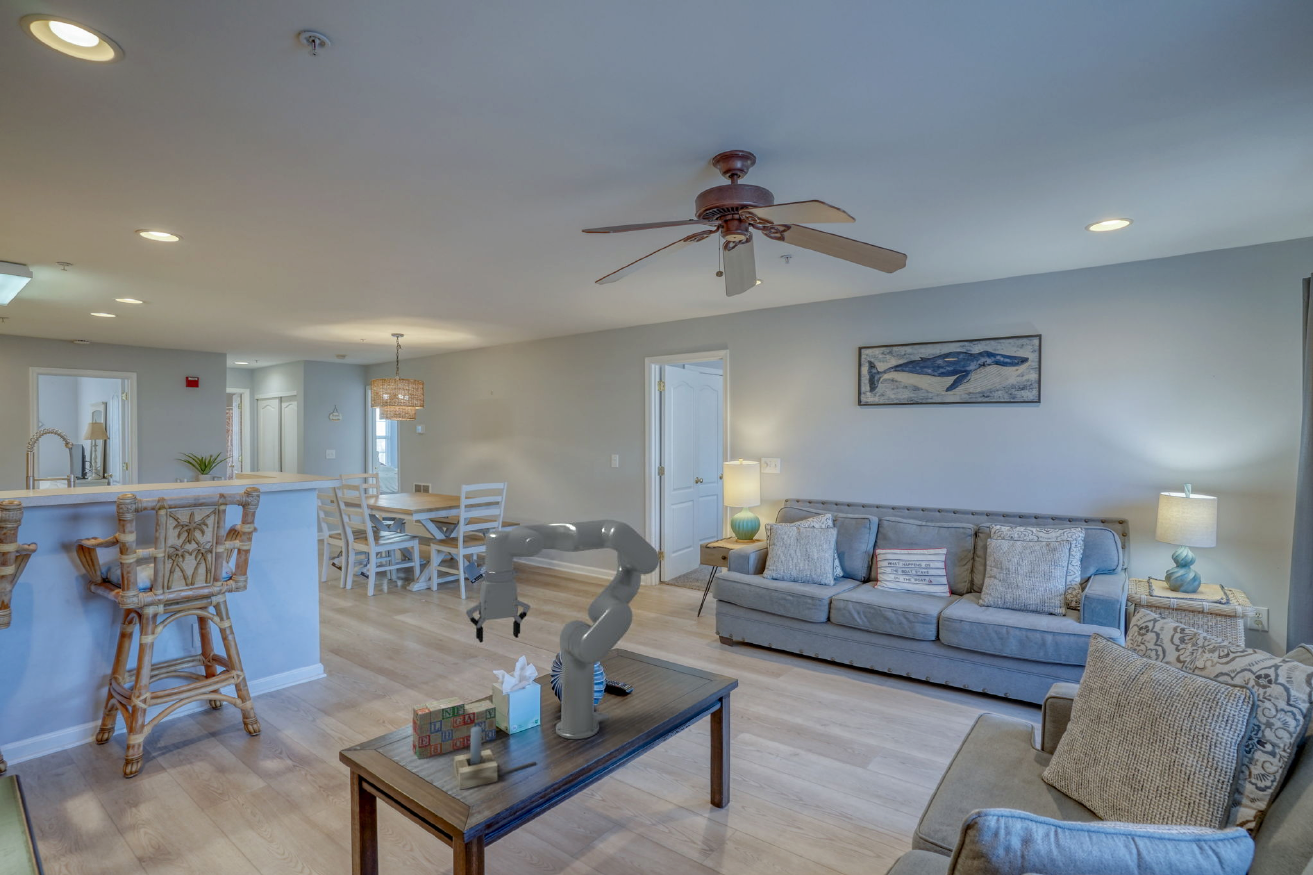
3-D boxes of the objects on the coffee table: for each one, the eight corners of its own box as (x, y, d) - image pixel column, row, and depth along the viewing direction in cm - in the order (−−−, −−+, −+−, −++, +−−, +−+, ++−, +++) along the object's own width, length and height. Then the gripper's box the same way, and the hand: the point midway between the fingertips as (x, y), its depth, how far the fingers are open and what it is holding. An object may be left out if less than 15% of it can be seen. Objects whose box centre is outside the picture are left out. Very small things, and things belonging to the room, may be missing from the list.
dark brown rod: (534, 763, 167) (534, 761, 167) (536, 764, 166) (536, 762, 166) (498, 774, 161) (498, 772, 161) (499, 775, 160) (499, 773, 160)
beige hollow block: (489, 764, 166) (489, 749, 166) (497, 781, 158) (497, 765, 158) (453, 772, 162) (454, 756, 162) (459, 789, 154) (460, 773, 154)
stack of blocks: (488, 731, 185) (489, 689, 185) (496, 739, 180) (496, 696, 180) (412, 750, 173) (412, 705, 173) (417, 760, 168) (418, 713, 168)
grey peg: (479, 773, 162) (480, 725, 162) (481, 778, 159) (482, 729, 159) (469, 775, 160) (469, 727, 161) (471, 780, 158) (471, 731, 158)
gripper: (526, 571, 182) (525, 631, 182) (464, 576, 174) (463, 638, 174) (533, 576, 175) (532, 638, 175) (469, 581, 167) (468, 646, 167)
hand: (498, 638), depth 174 cm, fingers open, 9 cm apart
